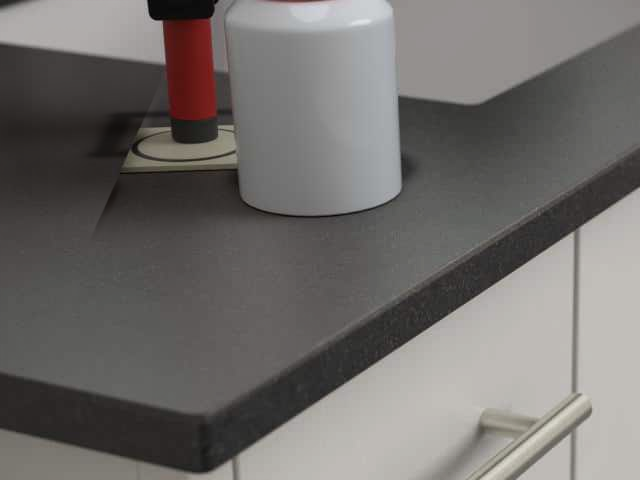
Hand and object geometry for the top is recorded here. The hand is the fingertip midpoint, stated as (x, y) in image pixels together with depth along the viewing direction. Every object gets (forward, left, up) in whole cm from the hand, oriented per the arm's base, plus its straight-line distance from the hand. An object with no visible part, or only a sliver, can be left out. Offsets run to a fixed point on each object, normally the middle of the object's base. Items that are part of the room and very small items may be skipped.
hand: (185, 8), depth 82 cm
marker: (0, 0, -7) cm, 7 cm away
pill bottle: (+7, -9, -7) cm, 13 cm away
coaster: (0, -1, -7) cm, 7 cm away
